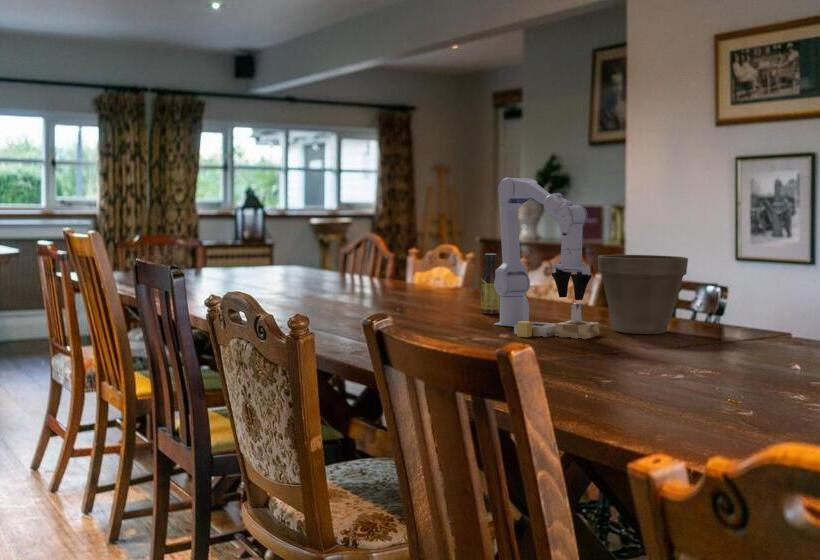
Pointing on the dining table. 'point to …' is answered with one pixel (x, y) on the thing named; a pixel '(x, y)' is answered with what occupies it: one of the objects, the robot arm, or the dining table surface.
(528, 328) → the yellow block
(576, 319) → the drill peg
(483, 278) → the sauce bottle
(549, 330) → the socket block
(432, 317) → the dining table surface
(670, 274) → the plant pot
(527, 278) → the robot arm
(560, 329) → the rack
